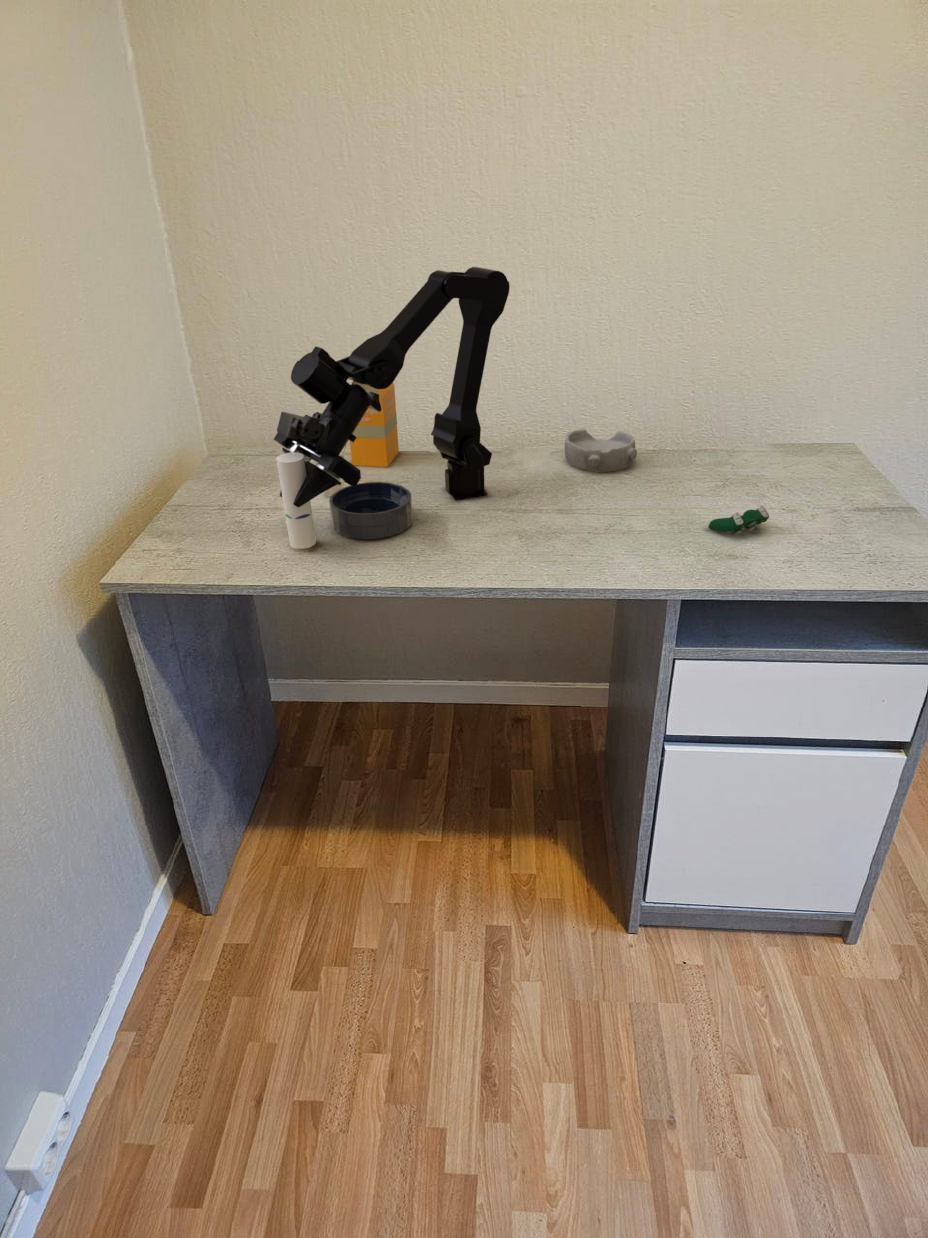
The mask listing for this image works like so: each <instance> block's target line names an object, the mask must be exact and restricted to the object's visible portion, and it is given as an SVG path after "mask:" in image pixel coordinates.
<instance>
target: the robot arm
mask: <svg viewBox="0 0 928 1238" xmlns="http://www.w3.org/2000/svg"><path fill="white" fill-rule="evenodd" d="M509 294H510V281H509V280H508V277H507V275H506V274H505V273H504V272H502V271H500V270H496V269H491V268H485V267H479V266H471V267H470V268H468V269H467V270H465V271H463V272H462V271H444V270H440V269H438V270H435V271H432V273H430V274H429V276H428V278H427V280H426V282H425V283H424V284H423V285H422V286H421V288H420V289H419V290H418V291H417V292H416V293H415V294H414V295H413V297H412V298H411V299H410V300H409V301H408V303H407V304H406V305H405V306H404V307H403V308H402V310H400V312H399V313H398V314H397V315H396V316H395V317H394V319H393V320H392V321H391V322H390V323H389V324H388V325H387V327H385V329H383V330H382V331H381V332H380V333H378V334H376V335H373V336H371V337H369V338H367V339H365V341H363V342H362V343H361V344H359V345H358V346H357V347H356V348H355V349H353V351H352V352H351V353H350V355H349V356H346V357H344V358H341V359H338V360H335V359H334V358H333V357H331V355H330V353H329V352H328V351H327V350H325V349H324V348H322V347H319V346H314V348H313V349H312V351H311V352H308V353H306V354H304V355H303V356H302V357H301V358H300V359H299V360H297V361H296V362H295V364H294V365H293V367H292V370H291V373H290V380H291V382H292V383H293V384H294V385H295V386H296V387H298V388H299V389H300V390H302V391H303V392H304V393H305V394H307V395H308V396H309V397H311V398H312V399H313V400H315V401H316V402H317V403H318V404H320V405H323V404H324V405H325V404H327V405H326V406H325V408H324V410H323V411H322V413H321V412H319V411H316V412H314V413H313V414H312V415H311V416H310V415H308V414H305V415H304V416H303V415H299V414H294V413H291V412H286V411H281V412H280V417H279V421H278V424H277V427H276V428H277V429H276V434H275V436H274V438H273V441H275V442H276V443H278V444H279V445H281V446H282V448H281V449H282V452H283V454H285V453H301V454H303V455H304V461H305V468H306V475H307V476H306V478H305V480H304V482H303V484H302V486H301V488H300V490H299V492H298V494H297V496H296V498H295V500H294V503H293V504H294V505H295V506H296V507H300V506H302V505H304V504H305V503H307V502H308V501H310V502H311V501H312V500H313V499H315V498H316V497H318V496H319V495H322V494H323V493H324V492H327V490H328V489H330V488H332V487H334V486H336V485H341V482H339V481H338V480H339V479H340V478H341V479H343V480H344V483H346V485H347V484H348V486H350V485H351V486H353V487H354V488H355V487H356V485H357V484H359V482H360V480H361V479H362V473H361V469H359V468H358V467H357V466H356V465H352V462H350V461H348V460H347V459H345V457H344V458H343V457H341V456H339V455H340V453H341V451H342V450H343V451H344V449H345V446H347V445H346V444H348V443H349V442H350V441H351V442H353V443H354V441H355V439H356V438H357V437H356V436H354V435H353V432H354V431H355V429H356V427H357V426H358V424H359V423H360V421H361V419H362V418H363V416H364V415H365V413H366V411H367V410H368V408H371V409H374V410H376V411H378V412H380V411H381V410H382V408H381V404H380V401H379V394H377V393H374V392H369V393H368V392H367V391H366V390H365V389H364V388H362V387H361V386H360V385H358V384H353V385H351V384H350V383H349V382H348V380H350V381H352V382H353V381H355V382H358V383H360V384H365V385H367V386H370V387H373V388H375V389H386V388H388V387H389V386H390V385H391V384H392V383H393V384H394V382H395V380H396V378H397V377H398V375H399V373H401V370H402V369H403V367H404V364H405V358H406V355H407V353H408V352H409V350H410V349H411V348H412V346H413V345H414V344H415V343H416V342H417V341H418V340H419V338H420V337H421V336H422V335H423V333H425V331H427V329H428V328H429V327H430V326H431V324H433V322H434V321H435V320H436V319H437V318H438V316H439V315H440V314H441V313H442V312H443V311H444V309H446V307H447V306H448V305H449V304H450V303H451V301H453V299H458V306H459V309H460V312H461V317H462V329H461V334H460V340H459V344H458V345H459V346H458V352H457V357H456V362H455V368H454V375H453V379H452V386H451V392H450V397H449V403H448V405H447V407H446V408H445V409H444V411H443V412H442V413H440V412H436V413H435V415H434V420H433V421H434V423H433V429H432V431H431V433H430V435H431V436H433V437H432V439H433V440H432V441H433V445H434V447H435V448H436V450H437V451H439V453H440V455H441V458H442V459H443V460H447V461H446V463H447V468H445V469H444V483H445V484H444V485H445V486H444V487H445V491H446V492H447V494H448V495H450V497H452V499H453V500H454V501H462V500H469V499H476V498H483V497H487V496H489V495H488V491H487V490H486V489H485V467H487V466H490V464H491V460H492V456H493V453H492V452H491V451H490V450H489V449H488V448H487V447H486V446H485V445H483V443H481V434H482V429H481V428H482V427H481V423H480V420H479V417H478V412H477V408H478V402H479V396H480V392H481V391H480V390H481V387H482V382H483V377H484V371H485V366H486V365H485V364H486V360H487V355H488V348H489V343H490V337H491V333H492V328H493V326H494V325H495V323H496V322H497V321H498V319H499V318H500V316H501V315H502V314H503V313H504V310H505V307H506V303H507V301H508V297H509ZM311 461H314V462H316V464H314V463H312V462H311ZM279 497H280V498H282V491H281V490H280V492H279Z"/></svg>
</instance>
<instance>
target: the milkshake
mask: <svg viewBox="0 0 928 1238" xmlns="http://www.w3.org/2000/svg"><path fill="white" fill-rule="evenodd" d="M347 444H348V443H346V445H345V447H344V448H343V450H342V451H341V453H340V455H339V456H341V457H343V458H344V459H345V451H346V447H347ZM338 481H339V482H341V485H336V486H334V487H332V488H330V489H328V490H326V495H327V497H329V498H331V496H332V495H333V494H334V493H335V492H336V491H338V490H340V489H342V488H344V487H345V482H344V480H343V479H341V478H340V479H339V480H338Z"/></svg>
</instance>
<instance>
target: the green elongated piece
mask: <svg viewBox="0 0 928 1238" xmlns="http://www.w3.org/2000/svg"><path fill="white" fill-rule="evenodd" d="M769 519H770V513H769V512H768V511H767V509H766V507H765V506H764V505H760V506H759V507H758V508H756V509H747V510H745V511H744V512H743V514H740V512H738V511H736V512H734V514H733V515H732V516H730V517H721V518H715V519H712V520H711V521H710V522H709V523H708V526H707V528H708V529H709V530H711V531H715V532H719V533H731V532H732V533H733V534H735V535H740V534H741V533H742V532H743V529H746V530H748V531H749V532H751V531H753V530H755V528H756V526H758V525H762V523H765V522H766V523H767V520H769Z"/></svg>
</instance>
